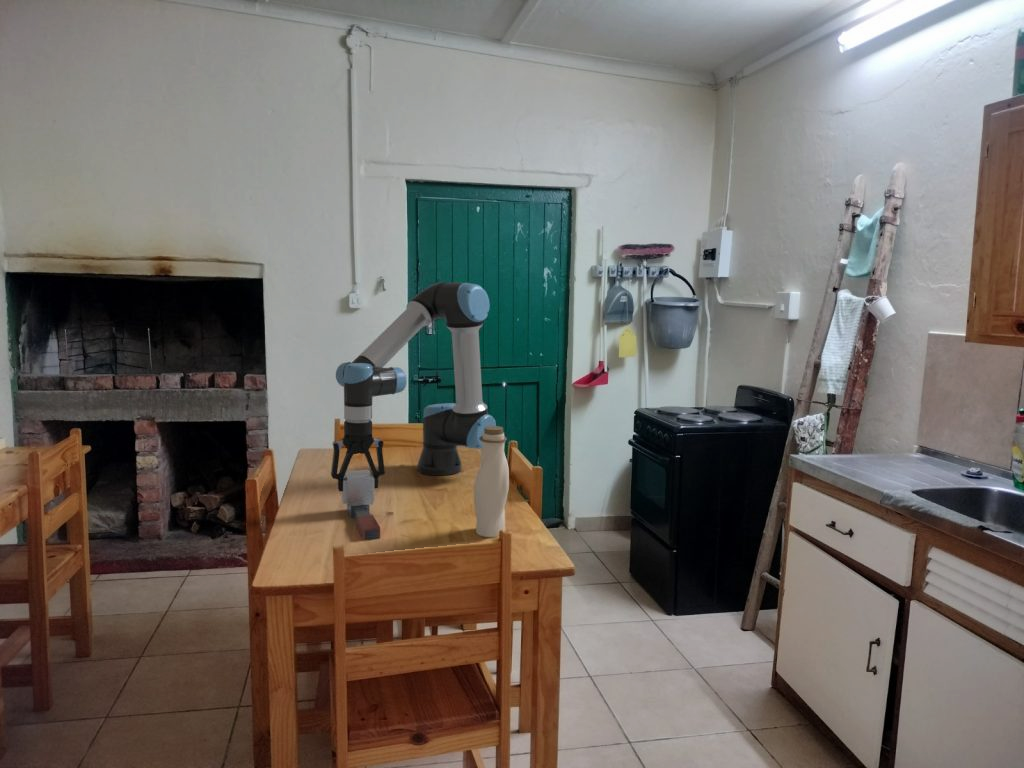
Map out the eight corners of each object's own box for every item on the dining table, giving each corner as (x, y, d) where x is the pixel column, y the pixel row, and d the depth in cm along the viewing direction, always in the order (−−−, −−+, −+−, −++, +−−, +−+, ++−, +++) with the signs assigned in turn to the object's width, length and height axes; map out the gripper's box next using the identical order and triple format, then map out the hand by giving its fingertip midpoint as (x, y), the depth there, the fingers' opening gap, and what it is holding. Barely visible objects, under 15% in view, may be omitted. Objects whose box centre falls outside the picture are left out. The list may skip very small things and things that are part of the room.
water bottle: (472, 524, 184) (475, 422, 180) (505, 524, 185) (508, 423, 180) (473, 538, 174) (476, 431, 169) (508, 538, 174) (512, 432, 170)
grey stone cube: (368, 496, 193) (368, 469, 192) (373, 504, 187) (373, 476, 186) (343, 498, 191) (343, 471, 190) (347, 506, 184) (347, 478, 183)
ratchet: (364, 507, 194) (364, 484, 193) (381, 538, 172) (381, 511, 171) (347, 509, 192) (346, 485, 191) (361, 540, 170) (361, 513, 169)
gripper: (391, 415, 193) (390, 493, 196) (318, 418, 185) (319, 499, 189) (397, 421, 186) (396, 501, 189) (322, 424, 178) (322, 508, 182)
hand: (358, 500), depth 189 cm, fingers closed on grey stone cube, 7 cm apart
